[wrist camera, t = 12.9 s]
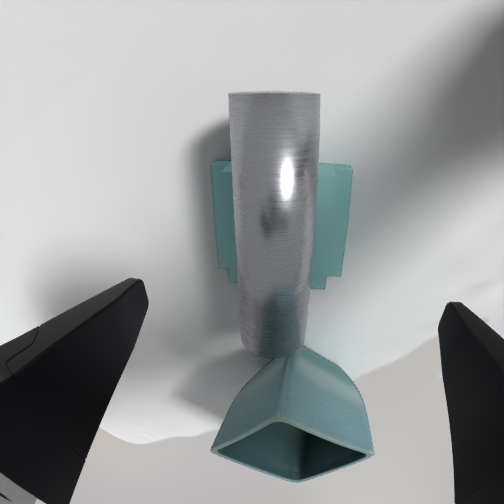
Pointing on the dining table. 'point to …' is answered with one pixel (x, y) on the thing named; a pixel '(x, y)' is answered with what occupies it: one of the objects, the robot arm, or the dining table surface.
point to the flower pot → (296, 420)
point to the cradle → (326, 225)
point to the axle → (274, 214)
